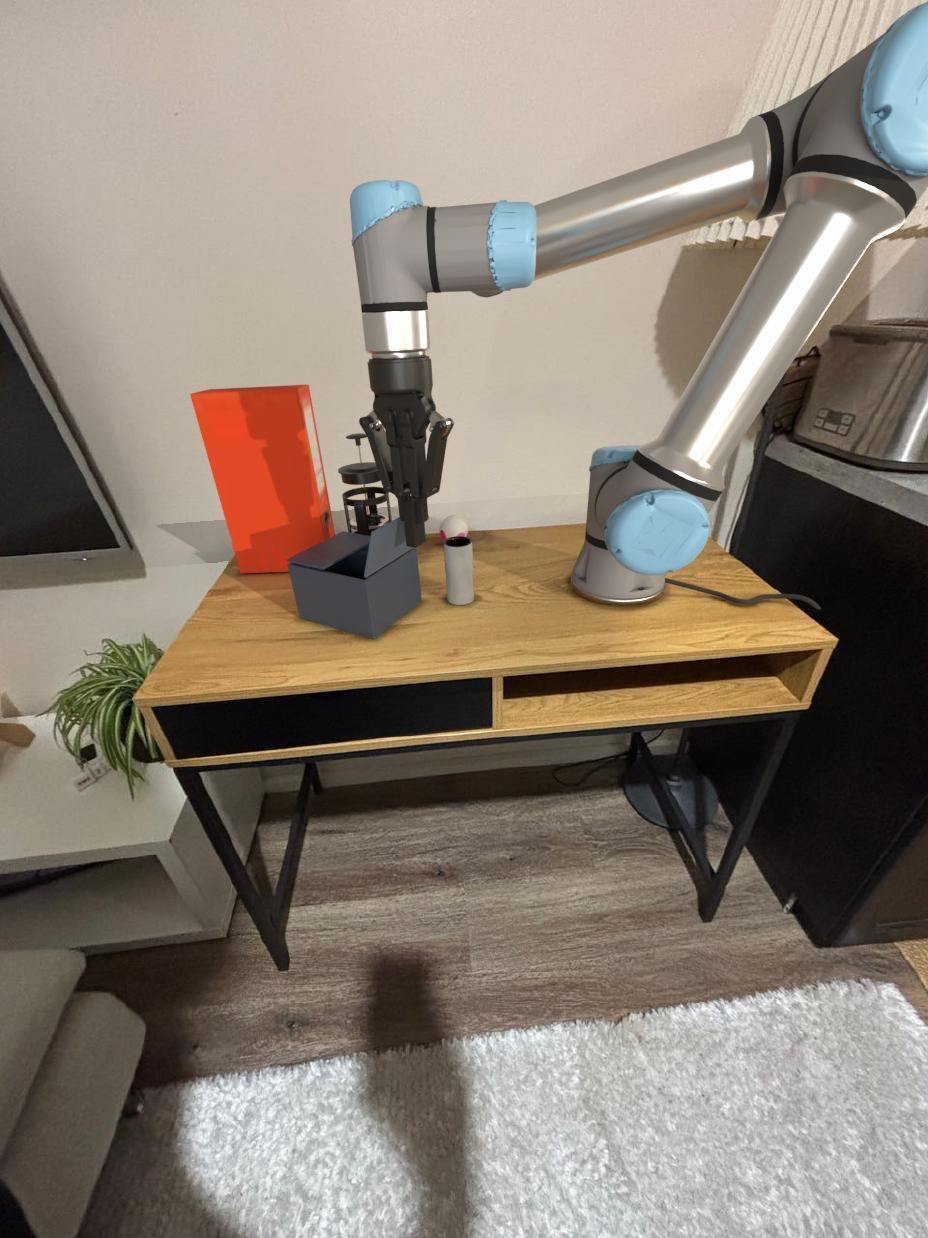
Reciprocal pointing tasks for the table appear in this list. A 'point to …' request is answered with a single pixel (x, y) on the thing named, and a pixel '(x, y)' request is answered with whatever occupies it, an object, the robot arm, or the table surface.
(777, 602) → the table surface
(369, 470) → the french press
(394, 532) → the flap
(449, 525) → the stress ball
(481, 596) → the table surface
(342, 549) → the carton
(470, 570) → the gray hollow cylinder
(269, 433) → the file binder
